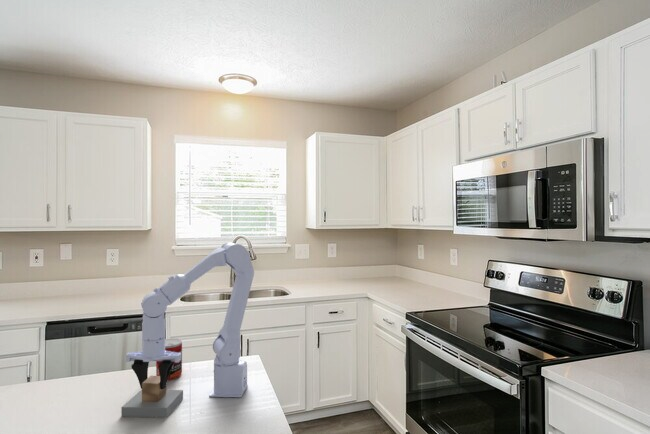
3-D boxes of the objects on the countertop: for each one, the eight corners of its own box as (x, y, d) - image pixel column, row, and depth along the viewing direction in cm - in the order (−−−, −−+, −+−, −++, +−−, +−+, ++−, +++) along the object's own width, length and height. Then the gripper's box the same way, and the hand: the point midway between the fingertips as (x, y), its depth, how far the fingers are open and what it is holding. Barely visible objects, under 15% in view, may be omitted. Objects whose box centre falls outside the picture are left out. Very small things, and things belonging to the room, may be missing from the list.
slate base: (183, 398, 106) (183, 389, 106) (166, 417, 96) (166, 407, 96) (141, 397, 106) (141, 389, 106) (121, 416, 96) (121, 407, 96)
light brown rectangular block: (166, 394, 104) (166, 376, 104) (158, 402, 99) (158, 383, 99) (150, 393, 104) (150, 375, 104) (141, 401, 99) (141, 382, 99)
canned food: (173, 381, 117) (173, 347, 117) (150, 379, 118) (150, 345, 118) (186, 372, 124) (186, 339, 124) (165, 370, 126) (165, 337, 126)
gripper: (119, 342, 97) (119, 393, 97) (173, 342, 97) (173, 394, 97) (133, 333, 104) (133, 382, 104) (184, 334, 104) (184, 382, 104)
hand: (153, 387), depth 101 cm, fingers open, 5 cm apart
